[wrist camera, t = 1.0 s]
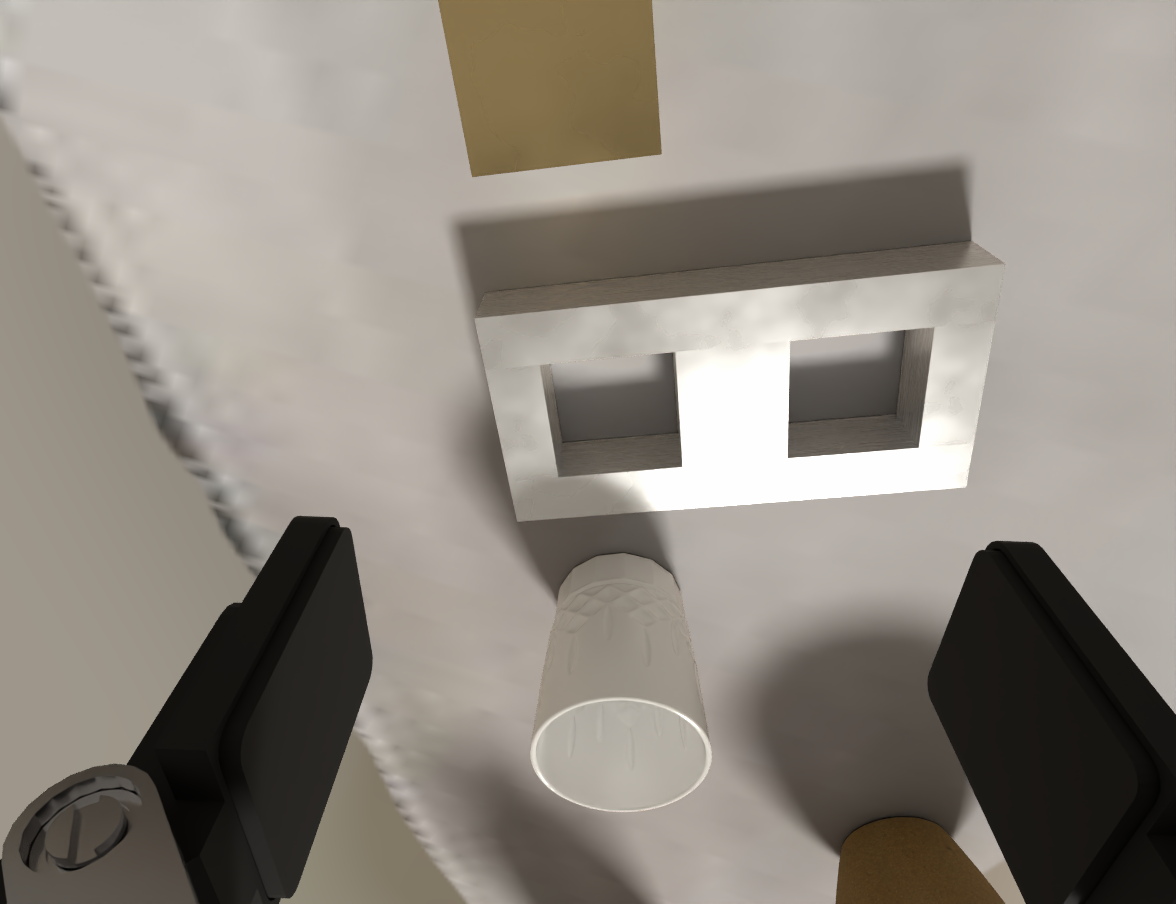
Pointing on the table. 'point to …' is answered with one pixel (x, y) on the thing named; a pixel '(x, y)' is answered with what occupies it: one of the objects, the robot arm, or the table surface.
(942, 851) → the plant pot
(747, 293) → the rail
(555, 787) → the white cup
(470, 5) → the brass square peg
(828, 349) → the table surface
